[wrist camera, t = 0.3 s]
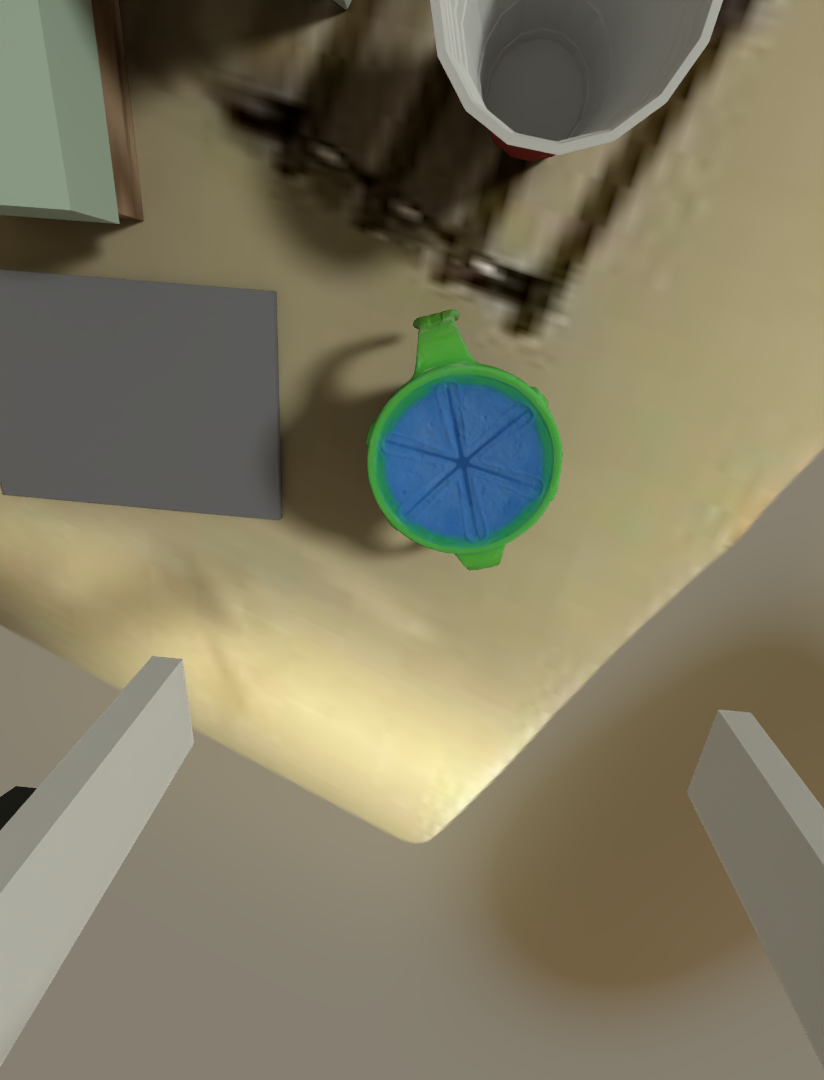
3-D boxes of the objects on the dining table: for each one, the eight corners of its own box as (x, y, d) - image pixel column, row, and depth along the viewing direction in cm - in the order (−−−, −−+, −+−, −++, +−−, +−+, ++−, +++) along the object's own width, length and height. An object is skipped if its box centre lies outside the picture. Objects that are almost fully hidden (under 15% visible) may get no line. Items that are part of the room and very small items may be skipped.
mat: (-46, 266, 35) (-54, 265, 35) (276, 291, 35) (273, 291, 34) (9, 492, 42) (3, 494, 41) (282, 517, 41) (279, 520, 40)
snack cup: (537, 524, 40) (564, 588, 30) (400, 536, 41) (385, 601, 32) (531, 300, 34) (562, 293, 24) (371, 321, 35) (342, 322, 26)
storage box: (-70, -173, 27) (-232, -326, 21) (100, -164, 27) (-11, -317, 20) (6, 210, 34) (-98, 185, 27) (143, 220, 33) (70, 198, 27)
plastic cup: (487, -72, 27) (513, -338, 16) (668, 29, 28) (809, -157, 17) (406, 161, 31) (383, 77, 20) (567, 241, 32) (627, 202, 21)
